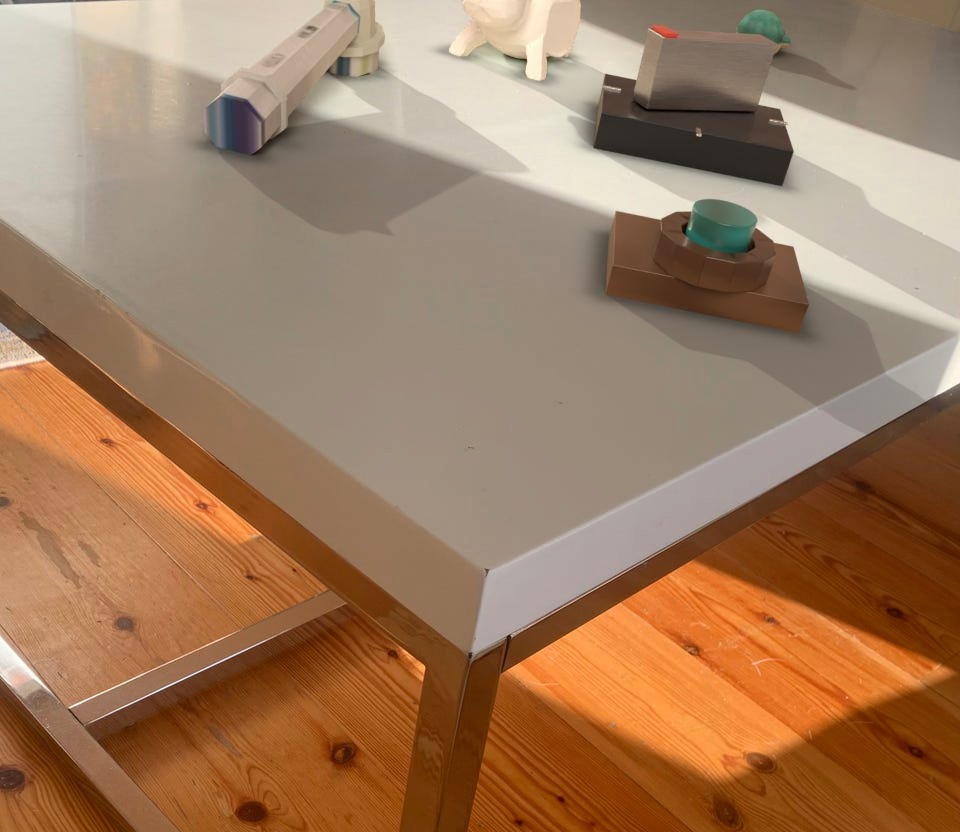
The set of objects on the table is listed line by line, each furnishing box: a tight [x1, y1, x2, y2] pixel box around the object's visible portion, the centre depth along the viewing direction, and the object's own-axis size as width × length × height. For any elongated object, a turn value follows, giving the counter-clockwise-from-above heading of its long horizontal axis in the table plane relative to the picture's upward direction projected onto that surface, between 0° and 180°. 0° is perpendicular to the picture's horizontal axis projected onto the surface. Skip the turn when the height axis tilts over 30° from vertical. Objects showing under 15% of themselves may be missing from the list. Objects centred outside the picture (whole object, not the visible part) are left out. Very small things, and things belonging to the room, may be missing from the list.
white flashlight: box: [203, 0, 386, 156], centre depth 78 cm, size 5×7×25 cm
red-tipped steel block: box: [632, 24, 777, 112], centre depth 83 cm, size 10×2×5 cm, turn 114°
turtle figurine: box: [735, 9, 792, 55], centre depth 114 cm, size 6×7×4 cm
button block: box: [605, 210, 810, 334], centre depth 64 cm, size 11×9×4 cm
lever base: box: [593, 73, 795, 187], centre depth 85 cm, size 14×14×3 cm
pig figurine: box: [448, 0, 582, 81], centre depth 93 cm, size 9×8×15 cm
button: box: [685, 198, 758, 253], centre depth 62 cm, size 4×4×2 cm
